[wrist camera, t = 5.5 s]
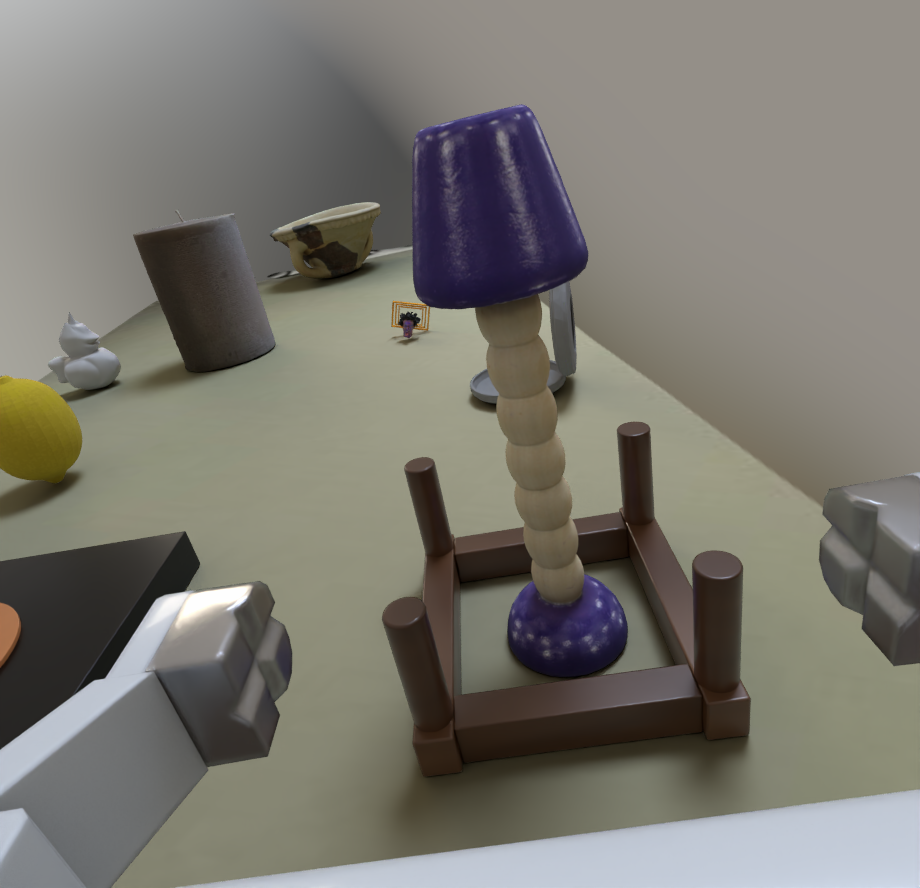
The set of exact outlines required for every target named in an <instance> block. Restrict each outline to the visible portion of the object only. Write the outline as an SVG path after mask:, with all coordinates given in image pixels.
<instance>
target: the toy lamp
mask: <svg viewBox="0 0 920 888" xmlns="http://www.w3.org/2000/svg"><path fill="white" fill-rule="evenodd" d="M412 166H413V188H412V190H413V191H412V215H413V217H412V219H413V281H414V287H415V291H416V294H417V297H418V298H419V299H420V300H421V301H422V302H423V303H425V304H426V305H427V306H429V307H435V308H440V309H466V308H475V311H476V318H477V322H478V325H479V328H480V331H481V333H482V335H483V337H484V338H485V339H486V340H487V341H488V343H489V347H488V350H487V357H486V361H487V370H488V374H489V377H490V380H491V382H492V384H493V386H494V387H495V389H496V390H497V391H498V392H499V396H498V399H497V406H496V407H497V417H498V421H499V425H500V427H501V429H502V431H503V433H504V435H505V436H506V437H507V438H508V441H507V445H506V461H507V465H508V469H509V471H510V473H511V476H512V477H513V479H514V480H515V481H516V482H517V483H516V487H515V504H516V507H517V510H518V512H519V514H520V516H521V518H522V519H523V520H524V522H525V524H524V532H523V536H524V543H525V546H526V549H527V551H528V553H529V555H530V556H531V558H532V559H533V560H532V567H531V573H532V578H533V581H532V582H531V583H529V584H528V585H527V586H526V587H525V588H524V589H523V590H522V591H521V592H520V593H519V595H518V596H517V598H516V599H515V601H514V603H513V604H512V607H511V610H510V614H509V619H508V631H507V632H508V641H509V645H510V647H511V649H512V651H513V653H514V654H515V655H516V656H517V658H518V659H519V660H520V661H521V662H522V663H523V664H524V665H526V666H527V667H529V668H531V669H532V670H534V671H537V672H539V673H543V674H546V675H550V676H553V677H556V676H558V677H574V676H580V675H586V674H589V673H592V672H594V671H597V670H599V669H601V668H604V667H605V666H607V665H608V664H610V663H611V662H612V661H614V660H615V659H616V658H617V656H618V655H619V654H620V653H621V652H622V650H623V648H624V646H625V644H626V640H627V633H628V626H627V621H626V617H625V614H624V611H623V608H622V606H621V605H620V603H619V601H618V600H617V598H616V596H615V595H614V594H613V593H612V592H611V591H610V590H609V589H608V588H607V587H606V586H605V585H604V584H603V583H601V582H600V581H598V580H596V579H595V578H592V577H590V576H588V575H585V574H584V570H583V566H582V563H581V560H580V559H579V557H578V556H577V554H576V553H577V549H578V534H577V530H576V526H575V524H574V522H573V520H572V518H571V517H570V513H571V509H572V496H571V491H570V488H569V485H568V483H567V481H566V480H565V478H564V477H563V476H562V475H563V473H564V469H565V453H564V448H563V445H562V443H561V440H560V438H559V437H558V435H557V434H556V433H555V429H556V425H557V417H558V413H557V406H556V402H555V398H554V396H553V394H552V392H551V390H550V389H549V388H548V386H547V381H548V377H549V373H550V360H549V355H548V352H547V348H546V346H545V344H544V342H543V340H542V339H541V338H540V337H539V335H538V333H539V330H540V327H541V320H542V308H541V303H540V299H539V296H538V293H542V292H545V291H548V290H550V289H553V288H556V287H558V286H560V285H562V284H564V283H566V282H568V281H570V280H572V279H573V278H575V277H577V276H578V275H579V274H580V273H581V272H582V271H583V270H584V269H585V267H586V264H587V261H588V250H587V246H586V242H585V239H584V236H583V234H582V232H581V229H580V226H579V224H578V221H577V218H576V215H575V213H574V210H573V208H572V205H571V202H570V200H569V197H568V195H567V193H566V190H565V187H564V185H563V182H562V179H561V176H560V174H559V171H558V169H557V167H556V164H555V162H554V160H553V157H552V154H551V152H550V149H549V147H548V144H547V142H546V140H545V137H544V134H543V132H542V130H541V127H540V125H539V123H538V121H537V119H536V117H535V116H534V114H533V112H532V111H531V110H530V108H528V107H527V106H525V105H517V106H513V107H508V108H504V109H500V110H496V111H491V112H487V113H483V114H478V115H475V116H470V117H466V118H462V119H458V120H454V121H451V122H447V123H443V124H439V125H435V126H431V127H428V128H425V129H422V130H420V131H419V132H418V133H417V135H416V137H415V142H414V147H413V159H412Z"/></svg>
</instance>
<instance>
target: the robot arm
mask: <svg viewBox="0 0 920 888" xmlns="http://www.w3.org/2000/svg"><path fill="white" fill-rule="evenodd" d="M823 516H824V517H825V518H826V519H827V520H828V521H829V522H830V523H831V524H832V527H831V528H830V529H829V530H828V532H827V533H826V534H825V535H824V536H823V538H822V539H821V540H820V552H819V561H820V565H821V569H822V573H823V577H824V580H825V582H826V584H827V585H828V587H829V589H830V591H831V593H832V594H833V595H834V596H835V598H836V599H837V600H838V601H839V603H840V604H841V605H842V606H844V607H846V608H849V609H851V610H853V611H855V612H857V613H860V614H862V615H863V622H862V630H863V631H864V632H865V633H866V634H867V635H868V637H869V638H870V639H871V640H872V641H873V642H874V644H875V645H876V646H877V647H878V648H879V649H880V650H881V652H882V653H883V654H884V655H885V656H886V657H887V659H888V660H889V661H890V662H891V663H892V664H893V666H898V665H907V664H915V663H920V472H917V473H912V474H907V475H904V476H901V477H895V478H890V479H884V480H878V481H873V482H867V483H861V484H855V485H850V486H844V487H838V488H833V489H829V491H828V493H827V495H826V497H825V499H824V506H823ZM274 604H275V601H274V599H273V597H272V595H271V592H270V590H269V588H268V586H267V585H266V584H264V583H262V582H261V581H256V582H249V583H242V584H235V585H227V586H220V587H213V588H206V589H199V590H196V591H186V592H180V593H174V594H168V595H164V596H162V597H160V598H158V599H156V600H155V602H154V603H153V605H152V606H151V608H150V609H149V611H148V613H147V614H146V616H145V617H144V619H143V620H142V622H141V623H140V625H139V627H138V628H137V630H136V631H135V633H134V634H133V636H132V638H131V639H130V641H129V642H128V644H127V645H126V647H125V648H124V650H123V652H122V653H121V655H120V656H119V658H118V659H117V661H116V662H115V664H114V666H113V667H112V669H111V670H110V672H109V673H108V675H107V676H106V678H105V679H100V680H94V681H93V682H91V683H90V684H89V685H87V686H86V687H85V688H83V689H82V690H81V691H79V692H78V693H77V694H75V695H74V696H72V697H71V698H70V699H68V700H67V701H66V702H64V703H63V704H62V705H60V706H59V707H58V708H56V709H55V710H53V711H52V712H51V713H49V714H48V715H47V716H45V717H44V718H43V719H41V720H40V721H39V722H37V723H36V724H34V725H33V726H32V727H30V728H29V729H28V730H26V731H25V732H24V733H22V734H21V735H20V736H18V737H17V738H15V739H14V740H13V741H11V742H10V743H9V744H7V745H6V746H5V747H3V748H2V749H1V750H0V888H111V887H112V886H113V884H114V883H115V882H116V881H117V880H118V878H119V877H120V876H121V875H122V874H123V872H124V871H125V870H126V869H127V867H128V866H129V865H130V864H131V863H132V861H133V860H134V859H135V858H136V857H137V855H138V854H139V853H140V852H141V851H142V849H143V848H144V847H145V846H146V845H147V843H148V842H149V841H150V840H151V839H152V837H153V836H154V835H155V834H156V833H157V831H158V830H159V829H160V828H161V827H162V825H163V824H164V823H165V822H166V821H167V819H168V818H169V817H170V816H171V815H172V813H173V812H174V811H175V810H176V809H177V807H178V806H179V805H180V804H181V803H182V801H183V800H184V799H185V798H186V797H187V795H188V794H189V793H190V792H191V791H192V789H193V788H194V787H195V786H196V784H197V783H198V782H199V781H200V780H201V778H202V777H203V776H204V775H205V774H206V772H207V771H208V768H207V767H210V766H216V765H222V764H227V763H233V762H239V761H245V760H250V759H256V758H262V757H268V754H269V750H270V747H271V744H272V740H273V737H274V733H275V730H276V727H277V723H278V720H279V717H280V714H279V712H278V710H277V707H276V705H275V703H274V702H275V701H276V700H277V699H278V698H279V697H280V696H281V695H282V694H283V693H284V692H285V691H286V690H287V689H288V685H289V681H290V677H291V674H292V649H291V644H290V639H289V636H288V633H287V631H286V628H285V626H284V625H283V624H282V623H280V622H279V621H277V620H276V619H274V618H273V617H272V616H270V615H271V612H272V609H273V606H274ZM177 888H920V789H918V790H910V791H903V792H895V793H887V794H880V795H872V796H865V797H857V798H850V799H842V800H834V801H827V802H819V803H812V804H804V805H797V806H789V807H782V808H774V809H767V810H759V811H751V812H744V813H736V814H729V815H721V816H714V817H706V818H699V819H691V820H684V821H676V822H668V823H661V824H653V825H646V826H638V827H631V828H623V829H616V830H608V831H601V832H593V833H585V834H578V835H570V836H563V837H555V838H548V839H540V840H533V841H525V842H518V843H510V844H503V845H495V846H487V847H480V848H472V849H465V850H457V851H449V852H442V853H434V854H427V855H419V856H411V857H404V858H396V859H389V860H381V861H373V862H366V863H358V864H351V865H343V866H335V867H328V868H320V869H313V870H305V871H297V872H290V873H282V874H275V875H267V876H259V877H252V878H244V879H237V880H229V881H222V882H214V883H207V884H199V885H192V886H184V887H177Z"/></svg>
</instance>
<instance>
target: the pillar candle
mask: <svg viewBox="0 0 920 888" xmlns="http://www.w3.org/2000/svg"><path fill="white" fill-rule="evenodd" d="M176 213H177V214H178V216H179V217H180V219H181V221H182V222H180V223H176V224H171V225H167V226H162V227H158V228H154V229H150V230H146V231H142V232H139V233H136V234H134V235H133V236H134V239H135V242H136V245H137V247H138V250H139V252H140V255H141V258H142V260H143V262H144V265H145V267H146V270H147V273H148V275H149V278H150V280H151V283H152V285H153V287H154V290H155V292H156V295H157V297H158V300H159V302H160V305H161V307H162V310H163V312H164V314H165V316H166V319H167V321H168V324H169V326H170V329H171V331H172V334H173V337H174V340H175V341H176V345H177V346H178V348H179V351H180V353H181V356H182V358H183V360H184V363H185V365H186V366H185V367H186V369H187V370H191V371H196V372H199V371H200V372H206V371H211V370H216V369H220V368H225V367H229V366H233V365H236V364H239V363H243V362H245V361H249V360H251V359H253V358H256V357H258V356H259V355H262V354H264V353H266V352H268V351H269V350H271V349H272V348H273V347H274V346H275V340H274V336H273V333H272V330H271V327H270V325H269V321H268V318H267V315H266V312H265V309H264V306H263V302H262V299H261V296H260V293H259V290H258V287H257V284H256V281H255V278H254V275H253V272H252V269H251V266H250V263H249V260H248V257H247V254H246V251H245V248H244V246H243V243H242V239H241V236H240V233H239V229H238V227H237V224H236V221H235V217H234V215H235V214H225V215H219V216H212V217H207V218H199V219H195V220H190V221H184V219H183V218H182V217H181V215H180V213H179V212H178V210H176Z"/></svg>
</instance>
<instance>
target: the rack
mask: <svg viewBox="0 0 920 888" xmlns="http://www.w3.org/2000/svg"><path fill="white" fill-rule="evenodd" d="M617 438H618V452H619V465H620V478H621V491H622V504H623V507H622V508H620V509H619V512H617V513H611V514H604V515H598V516H592V517H585V518H579V519H572V520H573V522H574V524H575V526H576V530H577V534H578V549H577V553H576V554H577V556H578V557H579V559H580V560H581V563H582V564H586V563H592V562H599V561H605V560H612V559H619V558H625V557H629V555H630V558H631V560H632V562H633V565H634V567H635V570H636V572H637V574H638V577H639V579H640V581H641V584H642V586H643V589H644V591H645V593H646V596H647V598H648V600H649V603H650V605H651V607H652V610H653V612H654V615H655V617H656V619H657V622H658V624H659V626H660V629H661V631H662V634H663V636H664V638H665V641H666V643H667V645H668V648H669V650H670V653H671V655H672V657H673V660H674V662H675V664H676V665H674V666H667V667H660V668H652V669H645V670H638V671H631V672H624V673H616V674H609V675H602V676H595V677H587V678H580V679H573V680H566V681H558V682H551V683H544V684H537V685H530V686H522V687H515V688H508V689H501V690H493V691H486V692H479V693H472V694H464V695H462V694H461V623H460V581H461V582H467V581H474V580H480V579H487V578H493V577H500V576H507V575H513V574H520V573H526V572H531V567H532V560H533V559H532V558H531V556H530V555H529V553H528V551H527V549H526V546H525V543H524V536H523V532H524V527H522V528H515V529H509V530H502V531H496V532H490V533H483V534H477V535H471V536H464V537H458V538H454V535H453V534H451V531H450V527H449V523H448V518H447V514H446V510H445V505H444V501H443V496H442V492H441V488H440V483H439V479H438V475H437V470H436V466H435V462H434V460H433V459H431V458H428V457H421V458H416V459H413V460H411V461H409V462H408V463H407V464H406V465H405V468H404V470H405V474H406V478H407V482H408V486H409V490H410V494H411V498H412V502H413V506H414V510H415V513H416V517H417V521H418V525H419V529H420V533H421V537H422V541H423V545H424V549H425V567H424V582H423V597H422V601H421V600H420V599H418V598H415V597H404V598H400V599H397V600H395V601H393V602H392V603H390V604H389V605H388V606H387V607H386V608H385V610H384V612H383V616H382V621H383V624H384V628H385V631H386V634H387V637H388V640H389V644H390V647H391V650H392V653H393V656H394V660H395V663H396V666H397V669H398V672H399V676H400V679H401V682H402V685H403V688H404V692H405V695H406V698H407V701H408V704H409V708H410V711H411V714H412V717H413V720H414V729H413V747H414V750H415V753H416V756H417V759H418V762H419V765H420V768H421V771H422V774H423V776H425V777H427V776H434V775H442V774H450V773H458V772H461V771H462V769H463V764H462V760H463V762H464V763H467V762H474V761H482V760H490V759H497V758H505V757H513V756H520V755H528V754H536V753H543V752H551V751H559V750H566V749H574V748H582V747H590V746H597V745H605V744H613V743H620V742H628V741H636V740H643V739H651V738H659V737H666V736H674V735H682V734H689V733H697V732H702V731H704V733H705V736H706V738H707V739H708V740H714V739H721V738H729V737H737V736H744V735H748V734H749V728H750V702H751V698H750V697H749V695H748V693H747V691H746V689H745V687H744V685H743V683H742V681H741V680H740V661H741V625H742V589H743V565H742V563H741V561H740V560H739V559H738V558H737V557H736V556H734V555H732V554H730V553H727V552H723V551H706V552H703V553H700V554H699V555H697V556H696V557H695V559H694V560H693V563H692V579H693V589H692V587H691V585H690V583H689V581H688V580H687V578H686V576H685V574H684V572H683V570H682V568H681V566H680V564H679V563H678V561H677V559H676V557H675V555H674V553H673V551H672V549H671V547H670V546H669V544H668V542H667V540H666V538H665V536H664V534H663V532H662V531H661V529H660V527H659V525H658V523H657V521H656V519H655V517H654V497H653V477H652V457H651V437H650V427H649V426H648V425H647V424H645V423H642V422H628V423H624V424H622V425H620V426H619V427H618V428H617Z"/></svg>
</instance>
